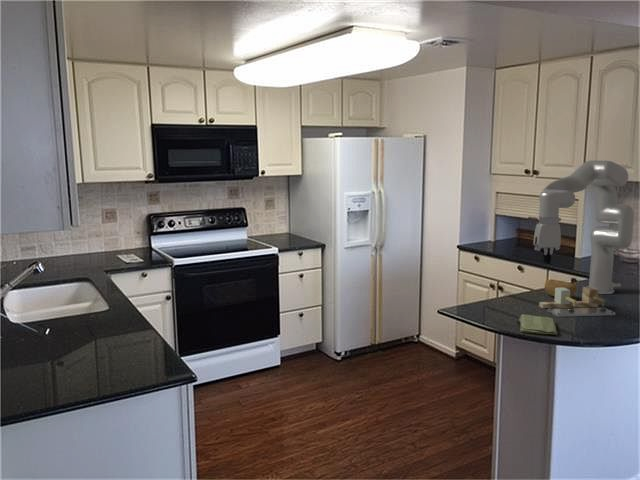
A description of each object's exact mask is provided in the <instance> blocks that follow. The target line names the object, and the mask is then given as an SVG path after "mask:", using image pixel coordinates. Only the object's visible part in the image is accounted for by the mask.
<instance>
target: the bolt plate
mask: <svg viewBox="0 0 640 480" xmlns="http://www.w3.org/2000/svg"><path fill="white" fill-rule="evenodd" d="M546 311H547V312H548V313H549V312H550V313H549V314H551V313H552V315H553V316H555V317H556V316H557V317H556V318H567V317H568V318H569V317H570V318H571V317H596V316H597V317H598V316H602V317H603V316H616V314H617V312H614V311H612V310H611V309H608V308H606V307H605V306H604V307H603V306H600V307H599V306H598V307H581V308H548V309H547V310H546Z"/></svg>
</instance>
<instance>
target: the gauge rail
mask: <svg viewBox="0 0 640 480" xmlns="http://www.w3.org/2000/svg"><path fill="white" fill-rule="evenodd" d="M576 301H577V300H576ZM599 301H600V302H601V307H605V304H606V299H605V298H602V297H600V296H599V294H598V289H596V288H593V287H586V286H582V293H581V300H578V301H577V302H576V305H575V307H573V302H571V301H570V304H559V303H557V302H555V301H540V302H538V307H539V308H540V307H541V308H540V309H542V308H548V309H566V308H599Z"/></svg>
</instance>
